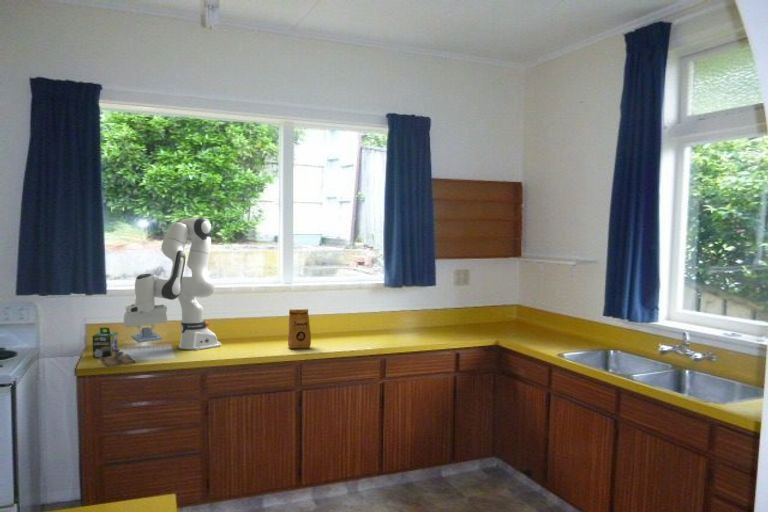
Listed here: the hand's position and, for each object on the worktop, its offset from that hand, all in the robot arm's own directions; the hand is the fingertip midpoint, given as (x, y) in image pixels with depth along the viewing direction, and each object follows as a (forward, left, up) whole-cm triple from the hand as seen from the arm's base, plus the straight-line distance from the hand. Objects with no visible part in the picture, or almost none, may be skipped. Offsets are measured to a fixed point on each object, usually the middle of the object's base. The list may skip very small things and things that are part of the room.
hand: (146, 333), depth 275 cm
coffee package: (-76, +20, -13) cm, 80 cm away
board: (+13, 0, -13) cm, 18 cm away
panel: (0, 0, -3) cm, 3 cm away
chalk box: (+16, -16, -13) cm, 26 cm away
